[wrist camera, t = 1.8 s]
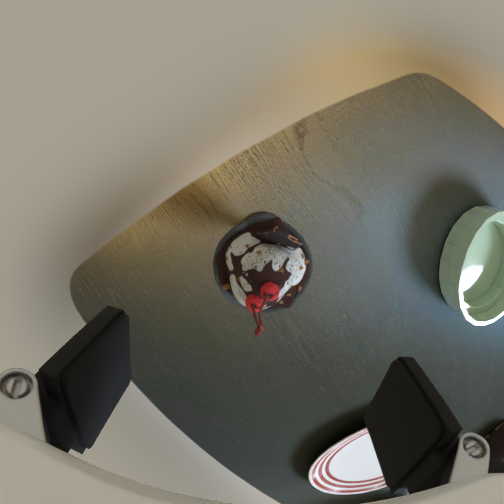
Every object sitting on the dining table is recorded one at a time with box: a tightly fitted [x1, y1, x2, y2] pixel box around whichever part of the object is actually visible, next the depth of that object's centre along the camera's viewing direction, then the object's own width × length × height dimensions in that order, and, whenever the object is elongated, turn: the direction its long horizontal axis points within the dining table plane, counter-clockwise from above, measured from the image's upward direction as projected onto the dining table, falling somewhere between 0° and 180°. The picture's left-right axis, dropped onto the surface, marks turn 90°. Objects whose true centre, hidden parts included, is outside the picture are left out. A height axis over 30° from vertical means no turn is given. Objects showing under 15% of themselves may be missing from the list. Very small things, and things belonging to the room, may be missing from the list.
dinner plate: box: [308, 427, 387, 495], centre depth 36 cm, size 27×27×3 cm
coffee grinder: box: [484, 421, 504, 463], centre depth 31 cm, size 16×11×18 cm
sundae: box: [213, 213, 313, 336], centre depth 21 cm, size 7×7×15 cm
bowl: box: [439, 206, 504, 326], centre depth 26 cm, size 14×14×5 cm
